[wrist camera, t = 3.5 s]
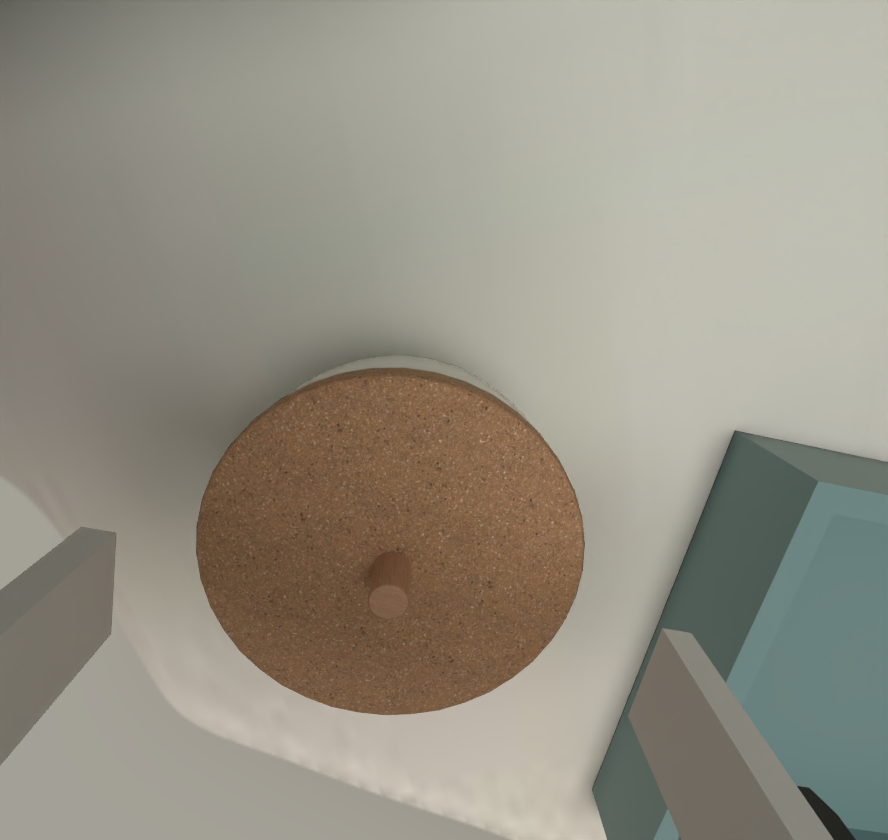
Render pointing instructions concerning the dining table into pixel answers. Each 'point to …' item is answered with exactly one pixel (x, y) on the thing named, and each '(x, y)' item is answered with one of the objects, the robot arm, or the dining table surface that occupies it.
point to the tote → (783, 630)
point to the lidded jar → (390, 538)
